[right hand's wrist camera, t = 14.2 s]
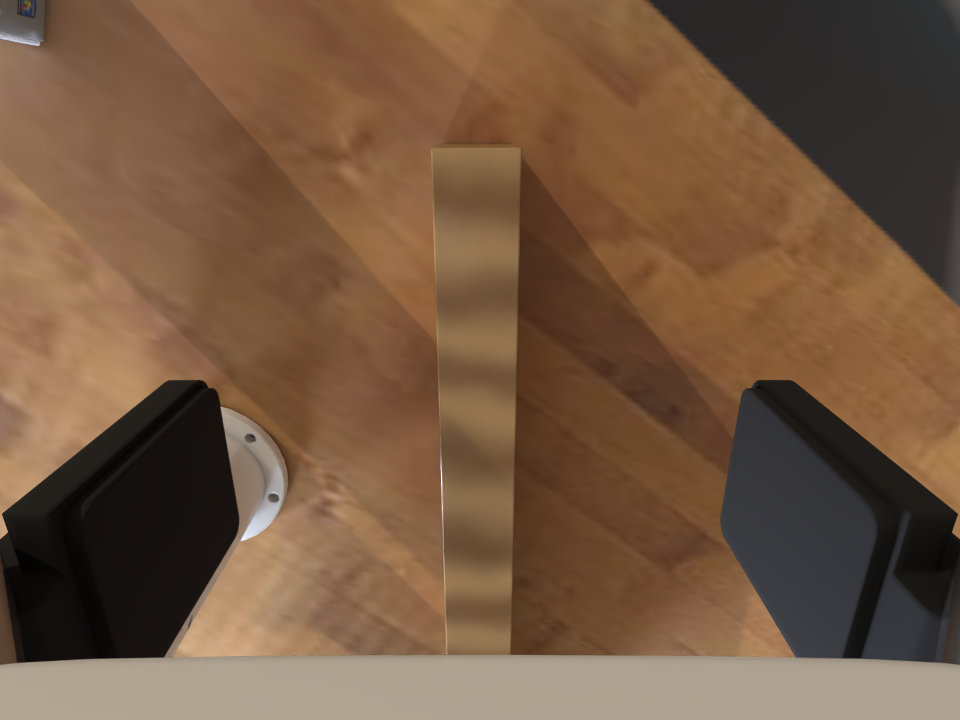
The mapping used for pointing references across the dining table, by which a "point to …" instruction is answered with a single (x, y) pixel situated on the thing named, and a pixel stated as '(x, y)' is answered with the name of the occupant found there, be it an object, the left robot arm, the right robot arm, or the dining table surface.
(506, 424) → the post
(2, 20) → the hard drive box
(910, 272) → the dining table surface
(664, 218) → the dining table surface
